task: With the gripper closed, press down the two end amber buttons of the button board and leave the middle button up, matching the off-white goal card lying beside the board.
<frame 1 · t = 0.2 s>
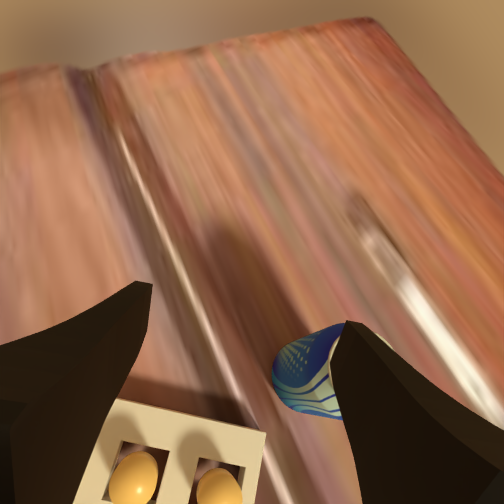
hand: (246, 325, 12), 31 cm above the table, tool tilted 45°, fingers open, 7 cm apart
button a: (218, 496, 32), point 5 cm above the table, slide at 0.0 cm
board: (140, 467, 36), on the table
button b: (135, 479, 31), point 5 cm above the table, slide at 0.0 cm
beer can: (300, 375, 43), on the table
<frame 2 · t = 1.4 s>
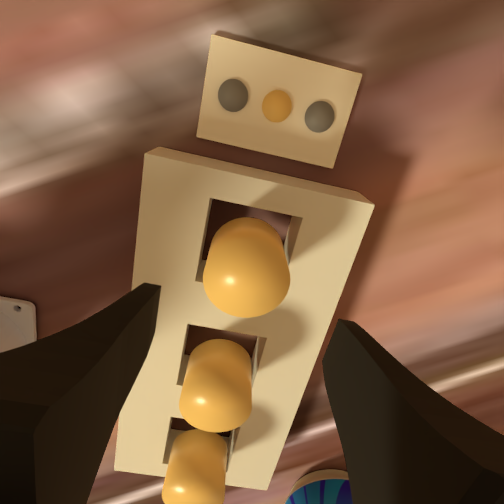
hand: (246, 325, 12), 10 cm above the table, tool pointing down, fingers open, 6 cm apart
goal card: (276, 106, 19), on the table
button c: (246, 265, 17), point 5 cm above the table, slide at 0.0 cm
button a: (196, 470, 23), point 5 cm above the table, slide at 0.0 cm
board: (223, 333, 24), on the table
button b: (217, 383, 20), point 5 cm above the table, slide at 0.0 cm
beer can: (326, 490, 32), on the table
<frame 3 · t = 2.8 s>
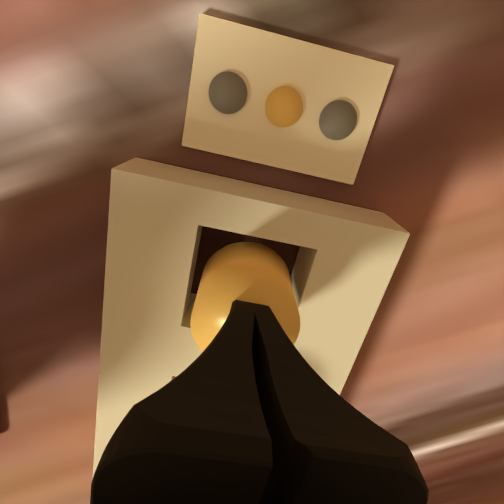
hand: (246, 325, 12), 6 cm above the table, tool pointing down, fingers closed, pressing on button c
goal card: (283, 107, 15), on the table
button c: (245, 302, 14), point 4 cm above the table, slide at 0.9 cm, touching gripper
board: (217, 377, 21), on the table
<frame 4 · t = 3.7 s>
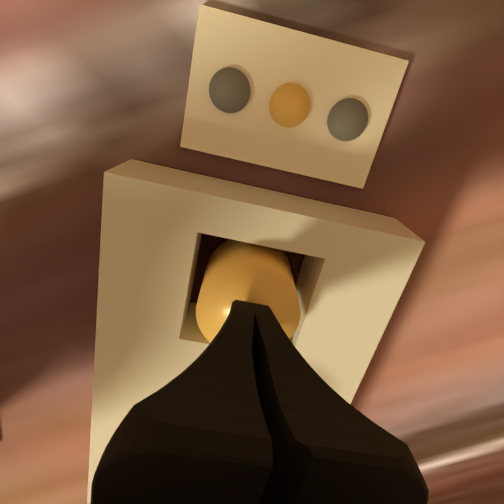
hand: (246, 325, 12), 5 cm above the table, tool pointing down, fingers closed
goal card: (288, 105, 14), on the table
button c: (248, 292, 14), point 2 cm above the table, slide at 2.5 cm
board: (218, 388, 20), on the table
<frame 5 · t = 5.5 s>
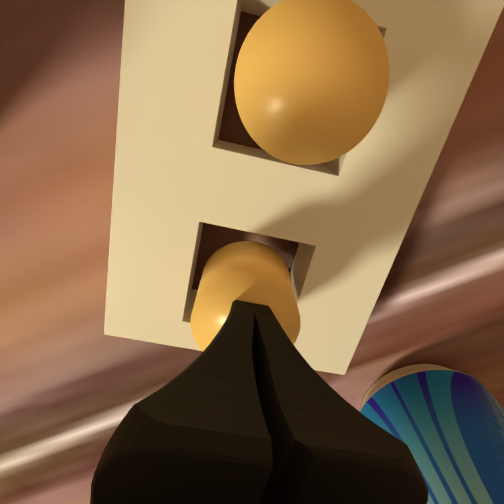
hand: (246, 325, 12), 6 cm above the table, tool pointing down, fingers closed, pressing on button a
button a: (245, 301, 14), point 4 cm above the table, slide at 0.5 cm, touching gripper
board: (285, 93, 15), on the table
button b: (302, 88, 10), point 5 cm above the table, slide at 0.0 cm
beer can: (412, 401, 22), on the table
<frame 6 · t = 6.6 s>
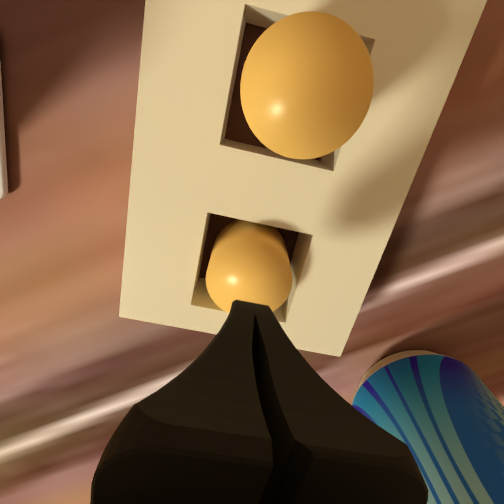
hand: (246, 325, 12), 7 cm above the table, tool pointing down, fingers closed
button a: (249, 265, 17), point 2 cm above the table, slide at 2.5 cm
board: (285, 97, 16), on the table
button b: (299, 93, 12), point 5 cm above the table, slide at 0.0 cm
beer can: (405, 387, 24), on the table
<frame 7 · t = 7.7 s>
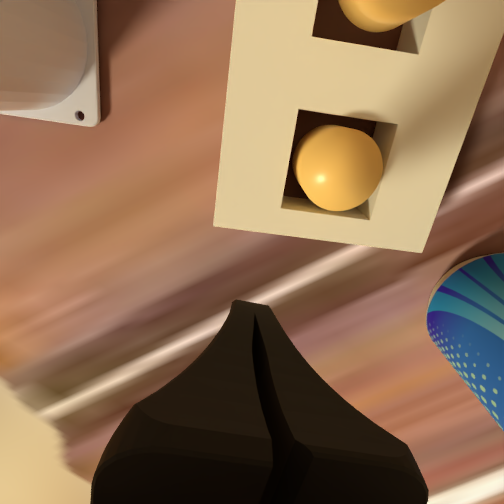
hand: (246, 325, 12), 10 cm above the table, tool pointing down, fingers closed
button a: (333, 166, 18), point 2 cm above the table, slide at 2.5 cm
beer can: (474, 297, 24), on the table
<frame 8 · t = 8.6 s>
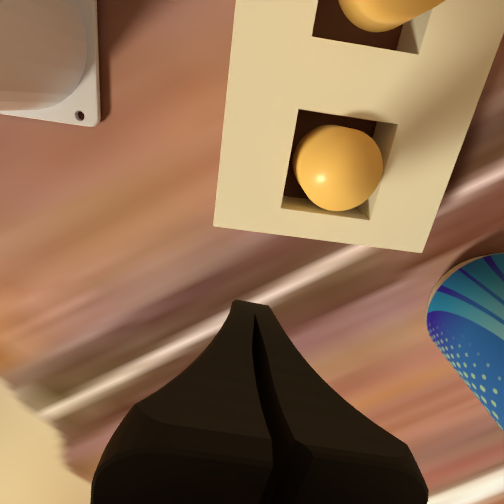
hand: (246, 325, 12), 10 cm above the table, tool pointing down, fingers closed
button a: (333, 166, 18), point 2 cm above the table, slide at 2.5 cm
beer can: (474, 297, 24), on the table
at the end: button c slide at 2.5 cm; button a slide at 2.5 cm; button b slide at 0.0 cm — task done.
